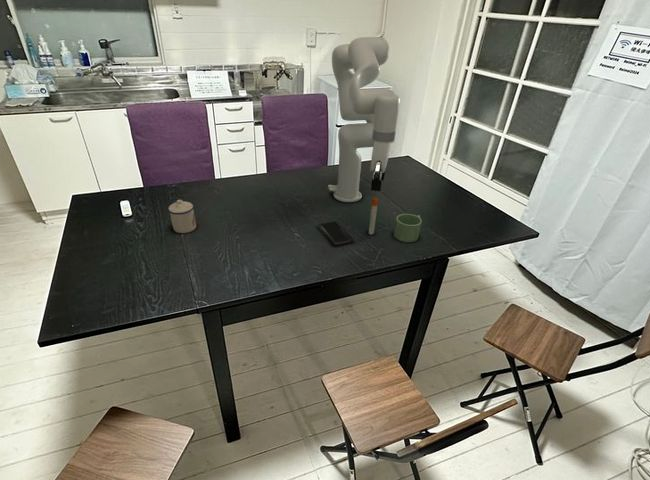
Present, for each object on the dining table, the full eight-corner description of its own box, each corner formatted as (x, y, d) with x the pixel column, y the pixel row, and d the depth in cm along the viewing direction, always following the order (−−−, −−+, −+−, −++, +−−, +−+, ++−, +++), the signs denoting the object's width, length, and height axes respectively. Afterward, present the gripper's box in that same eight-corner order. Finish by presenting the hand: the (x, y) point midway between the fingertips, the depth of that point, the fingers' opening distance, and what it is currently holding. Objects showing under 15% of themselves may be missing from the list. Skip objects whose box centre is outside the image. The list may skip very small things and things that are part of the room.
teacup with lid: (199, 230, 146) (194, 202, 139) (175, 236, 142) (169, 208, 135) (192, 217, 154) (186, 190, 147) (169, 222, 151) (162, 195, 144)
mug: (409, 245, 139) (412, 228, 135) (388, 235, 144) (391, 219, 140) (427, 233, 146) (430, 217, 141) (407, 224, 151) (410, 208, 147)
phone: (334, 243, 137) (318, 224, 148) (333, 246, 137) (318, 226, 148) (353, 239, 139) (336, 220, 150) (353, 242, 140) (336, 223, 151)
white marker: (367, 234, 145) (372, 199, 136) (368, 231, 146) (372, 197, 138) (373, 235, 144) (377, 200, 136) (374, 232, 146) (378, 197, 137)
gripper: (375, 127, 131) (370, 175, 141) (367, 142, 117) (363, 193, 127) (397, 129, 129) (390, 177, 139) (392, 144, 116) (385, 196, 126)
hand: (377, 185), depth 133 cm, fingers open, 9 cm apart
